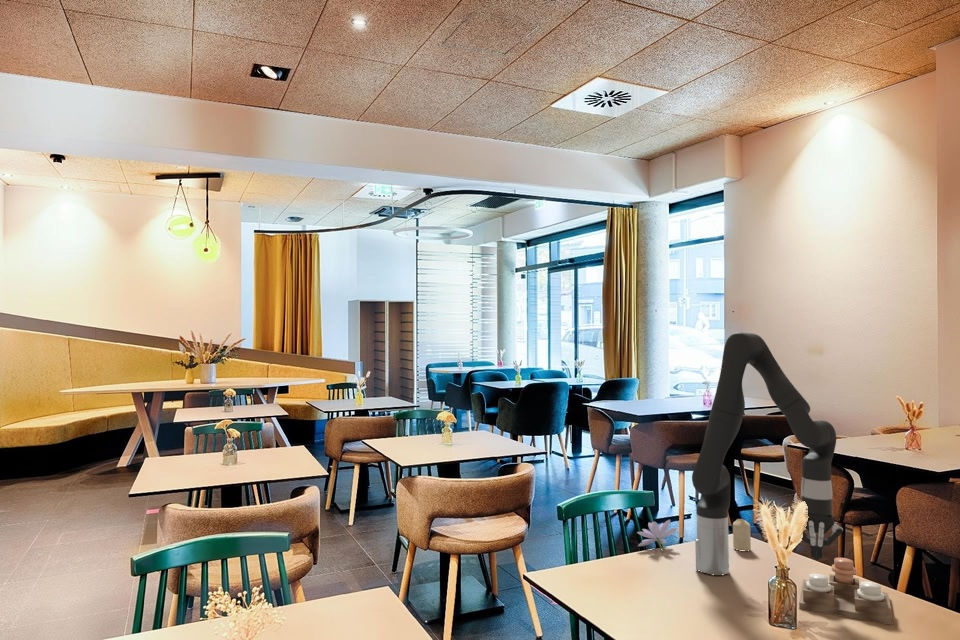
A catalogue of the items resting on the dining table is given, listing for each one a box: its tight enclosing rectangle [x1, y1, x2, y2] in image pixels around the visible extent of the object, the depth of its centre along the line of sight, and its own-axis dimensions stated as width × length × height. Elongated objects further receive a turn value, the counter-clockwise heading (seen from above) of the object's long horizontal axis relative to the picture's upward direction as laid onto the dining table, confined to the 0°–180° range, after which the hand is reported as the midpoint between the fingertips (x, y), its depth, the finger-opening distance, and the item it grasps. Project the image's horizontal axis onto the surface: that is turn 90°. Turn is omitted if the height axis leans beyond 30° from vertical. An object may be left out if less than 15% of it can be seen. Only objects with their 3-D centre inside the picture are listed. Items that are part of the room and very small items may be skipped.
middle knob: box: [831, 557, 857, 584], centre depth 179 cm, size 6×6×6 cm
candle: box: [732, 518, 752, 552], centre depth 219 cm, size 6×6×10 cm
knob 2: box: [857, 581, 884, 602], centre depth 167 cm, size 6×6×6 cm
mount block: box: [798, 573, 894, 626], centre depth 174 cm, size 21×19×4 cm
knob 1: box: [806, 573, 831, 593], centre depth 173 cm, size 6×6×6 cm
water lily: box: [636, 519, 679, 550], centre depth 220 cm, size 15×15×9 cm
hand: (816, 559), depth 174 cm, fingers closed
